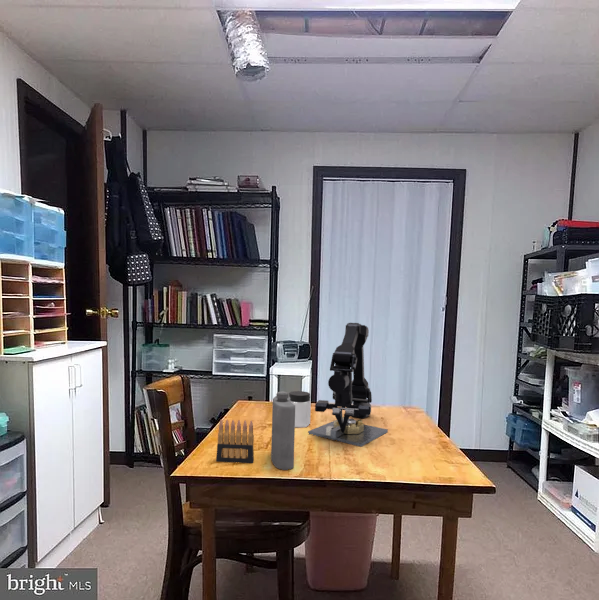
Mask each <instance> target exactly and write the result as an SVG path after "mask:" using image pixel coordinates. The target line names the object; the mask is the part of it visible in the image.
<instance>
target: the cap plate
mask: <svg viewBox="0 0 599 600" xmlns="http://www.w3.org/2000/svg"><path fill="white" fill-rule="evenodd" d="M343 420H344V419H343ZM356 420H357V419H354V418H349V419H348V421H347V424H346V425H348V426H349V425H350V423H355V424H356ZM334 421H335V420H333V421H330V422H328V423H325V424H323V425H320V426H318V427H315V428H313V429H311V430H307V433H309V434H308V435H310V434H313V435H312V436H314V435H316V436H315V437H319V436H320V438H323V437H324V438H323V439H327V438H328V439H329V440H331V439H332V441H335V440H337V441H336V442H339V441H340V443H345V444H347V445H348V444H349V445H353V446H356V447H360V448H361V447H363V446H365V445H367V444H369V443H370V442H372V441H374V440H376V439H378V438H380V437H382V436H384V435H385V434H387V433H388V432H389V429H387V428H383V427H377V426H372V425H368V424H364V431H363V432H361V433H359V434H343V435H341V436H340V437H338V438H336V439H335V438H331V437H330V435H331V430H332V429H334Z"/></svg>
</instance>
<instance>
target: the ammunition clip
mask: <svg viewBox="0 0 599 600" xmlns="http://www.w3.org/2000/svg"><path fill="white" fill-rule="evenodd" d="M224 424H225V425H224ZM254 439H255V438H254V423H253V420H250V422H249V425H248V426H247V420H244V421H243V425H242V423H241V420H239V419H238V420H237V424H236V425H235V420H234V419H232V420H231V424H230V425H229V420H228V419H226V420H225V423H224V422H223V420H222V419H220V420H219V425H218V432H217V445H216V456H215V462H217V463H236V462H237V463H238V462H239V463H240V464H253V463H254V461H255V457H254V456H255V455H254V454H255V451H254V441H255V440H254ZM237 463H236V464H237Z"/></svg>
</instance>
